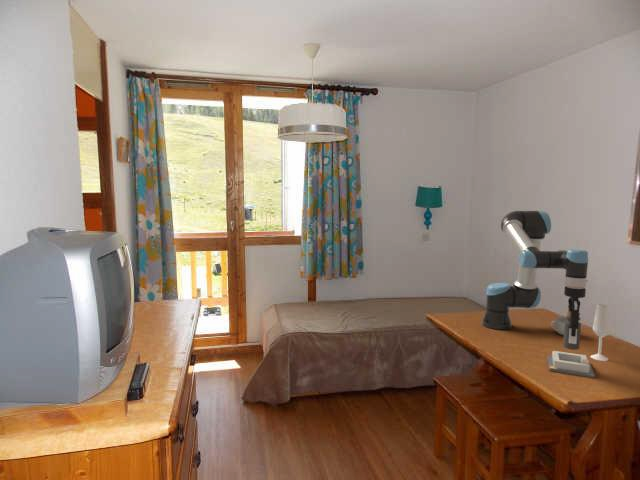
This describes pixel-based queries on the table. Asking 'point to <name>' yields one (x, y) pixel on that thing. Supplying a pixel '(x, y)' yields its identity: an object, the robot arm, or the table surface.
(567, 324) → the bottle
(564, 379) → the table surface
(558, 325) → the teacup
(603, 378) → the table surface
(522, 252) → the robot arm
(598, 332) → the champagne flute
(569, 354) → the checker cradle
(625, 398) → the table surface
